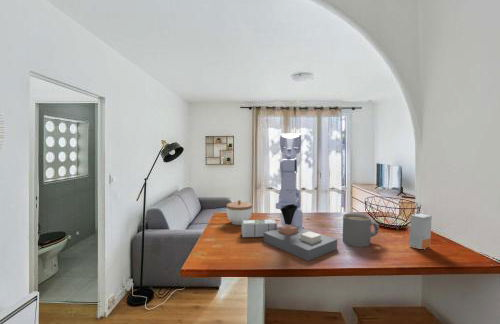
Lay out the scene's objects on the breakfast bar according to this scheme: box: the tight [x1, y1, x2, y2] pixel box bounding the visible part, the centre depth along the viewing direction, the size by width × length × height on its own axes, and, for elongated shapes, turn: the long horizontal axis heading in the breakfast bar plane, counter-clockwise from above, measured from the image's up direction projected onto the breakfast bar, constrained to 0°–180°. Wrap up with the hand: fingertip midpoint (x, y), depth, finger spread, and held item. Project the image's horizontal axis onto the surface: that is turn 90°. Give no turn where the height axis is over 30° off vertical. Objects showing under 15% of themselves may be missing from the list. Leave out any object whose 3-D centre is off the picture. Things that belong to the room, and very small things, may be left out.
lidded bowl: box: [225, 199, 253, 226], centre depth 123 cm, size 13×13×11 cm
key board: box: [263, 225, 338, 262], centre depth 95 cm, size 16×22×4 cm
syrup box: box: [241, 219, 278, 238], centre depth 106 cm, size 6×6×14 cm
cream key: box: [301, 230, 321, 244], centre depth 90 cm, size 5×5×4 cm
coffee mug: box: [342, 212, 380, 248], centre depth 97 cm, size 13×10×10 cm
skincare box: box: [409, 213, 432, 250], centre depth 92 cm, size 6×4×12 cm
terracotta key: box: [279, 224, 297, 236], centre depth 99 cm, size 5×5×4 cm
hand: (288, 224), depth 99 cm, fingers closed
